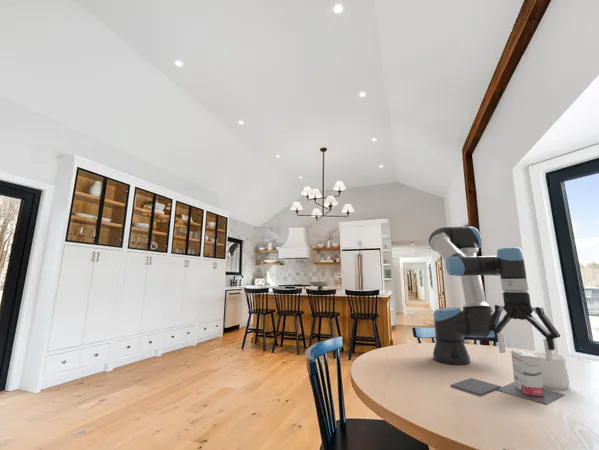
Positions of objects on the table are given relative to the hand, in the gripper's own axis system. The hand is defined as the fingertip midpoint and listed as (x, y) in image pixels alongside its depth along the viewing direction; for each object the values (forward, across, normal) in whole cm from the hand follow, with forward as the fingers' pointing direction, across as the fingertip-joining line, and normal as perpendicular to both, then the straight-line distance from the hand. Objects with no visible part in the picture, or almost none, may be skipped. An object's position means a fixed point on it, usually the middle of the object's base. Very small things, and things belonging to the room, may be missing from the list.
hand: (524, 356), depth 98 cm
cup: (+11, +1, +15) cm, 19 cm away
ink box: (+11, 0, 0) cm, 11 cm away
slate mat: (+11, 0, 0) cm, 11 cm away
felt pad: (+11, -12, -10) cm, 19 cm away
